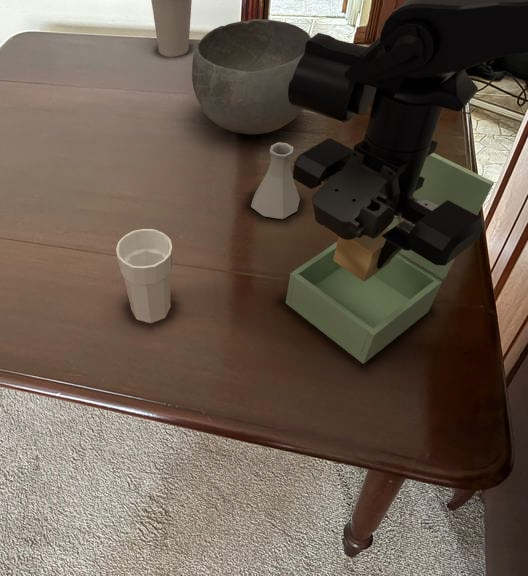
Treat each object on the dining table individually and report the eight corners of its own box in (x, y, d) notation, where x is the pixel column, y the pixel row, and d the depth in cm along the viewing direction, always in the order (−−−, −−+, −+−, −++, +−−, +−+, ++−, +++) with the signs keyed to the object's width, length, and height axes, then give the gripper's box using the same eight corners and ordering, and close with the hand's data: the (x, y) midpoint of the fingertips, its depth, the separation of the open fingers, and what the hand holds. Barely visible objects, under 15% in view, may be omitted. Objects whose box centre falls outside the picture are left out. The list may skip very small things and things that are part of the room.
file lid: (491, 184, 57) (494, 182, 57) (386, 133, 64) (390, 131, 64) (442, 279, 66) (446, 277, 66) (356, 226, 73) (360, 224, 73)
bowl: (289, 86, 109) (299, 6, 98) (324, 146, 95) (340, 60, 84) (184, 101, 109) (182, 21, 97) (204, 163, 95) (204, 78, 84)
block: (390, 263, 64) (400, 234, 60) (364, 282, 62) (373, 253, 59) (358, 242, 66) (366, 214, 63) (332, 260, 65) (339, 232, 61)
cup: (115, 309, 75) (104, 249, 67) (150, 281, 78) (144, 221, 70) (150, 335, 72) (143, 277, 63) (186, 306, 74) (183, 245, 66)
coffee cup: (204, 46, 123) (204, -28, 112) (176, 64, 118) (173, -12, 107) (170, 36, 127) (167, -37, 116) (142, 52, 123) (136, -21, 112)
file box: (363, 364, 66) (374, 335, 62) (285, 303, 73) (290, 273, 69) (428, 311, 71) (443, 280, 66) (349, 258, 78) (357, 227, 74)
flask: (285, 226, 83) (293, 170, 76) (242, 209, 86) (245, 154, 79) (307, 199, 87) (317, 143, 79) (265, 183, 90) (271, 129, 82)
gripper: (262, 127, 54) (251, 245, 66) (435, 225, 44) (386, 344, 55) (340, 85, 58) (317, 203, 70) (516, 165, 48) (455, 289, 59)
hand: (363, 255), depth 63 cm, fingers closed on block, 4 cm apart
